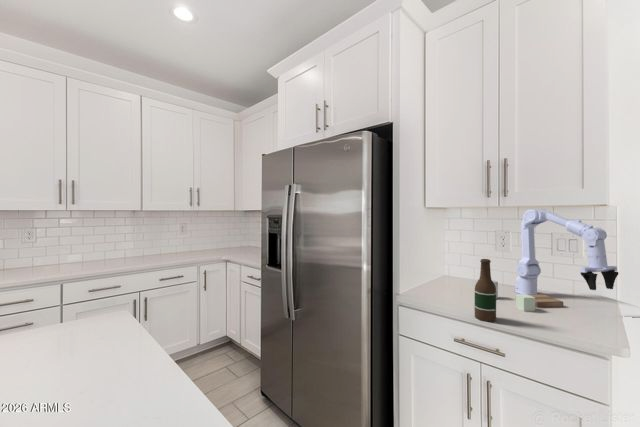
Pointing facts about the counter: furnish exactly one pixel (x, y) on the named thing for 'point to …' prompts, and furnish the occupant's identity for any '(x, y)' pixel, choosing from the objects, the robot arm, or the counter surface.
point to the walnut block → (546, 301)
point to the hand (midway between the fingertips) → (601, 289)
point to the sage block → (525, 302)
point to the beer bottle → (485, 294)
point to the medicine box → (496, 287)
